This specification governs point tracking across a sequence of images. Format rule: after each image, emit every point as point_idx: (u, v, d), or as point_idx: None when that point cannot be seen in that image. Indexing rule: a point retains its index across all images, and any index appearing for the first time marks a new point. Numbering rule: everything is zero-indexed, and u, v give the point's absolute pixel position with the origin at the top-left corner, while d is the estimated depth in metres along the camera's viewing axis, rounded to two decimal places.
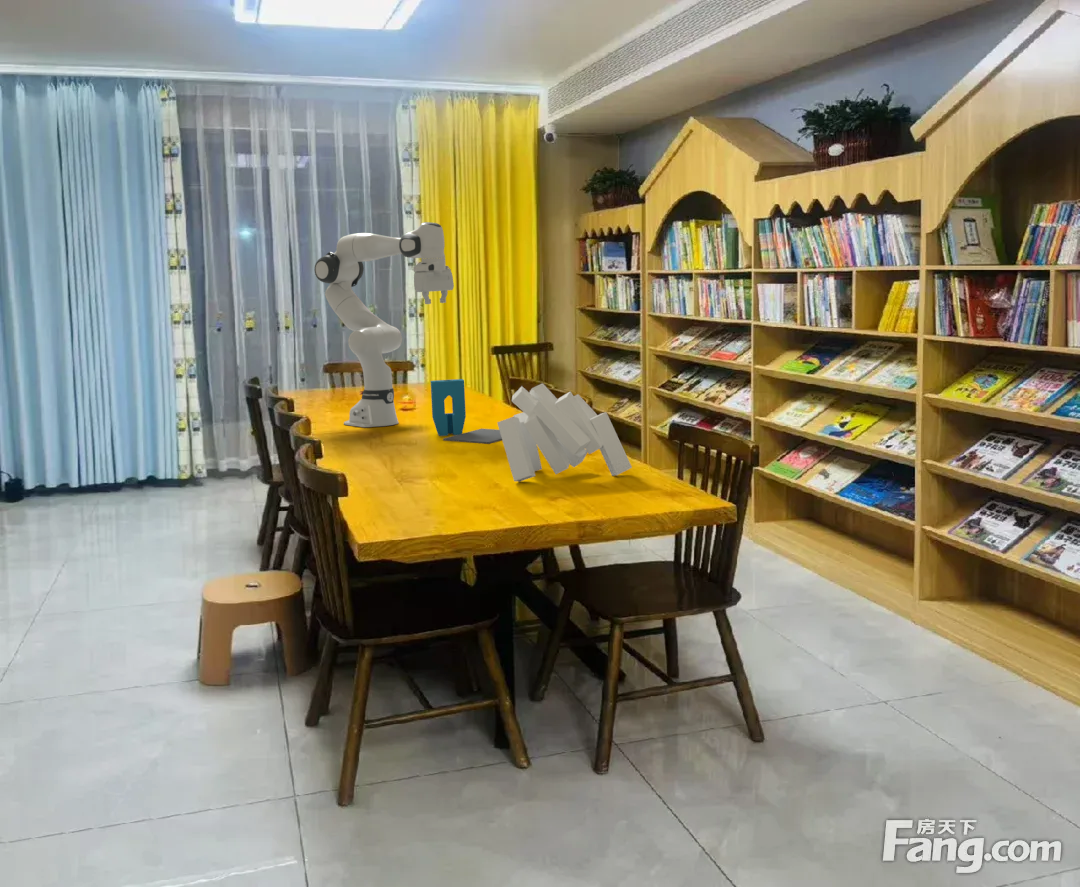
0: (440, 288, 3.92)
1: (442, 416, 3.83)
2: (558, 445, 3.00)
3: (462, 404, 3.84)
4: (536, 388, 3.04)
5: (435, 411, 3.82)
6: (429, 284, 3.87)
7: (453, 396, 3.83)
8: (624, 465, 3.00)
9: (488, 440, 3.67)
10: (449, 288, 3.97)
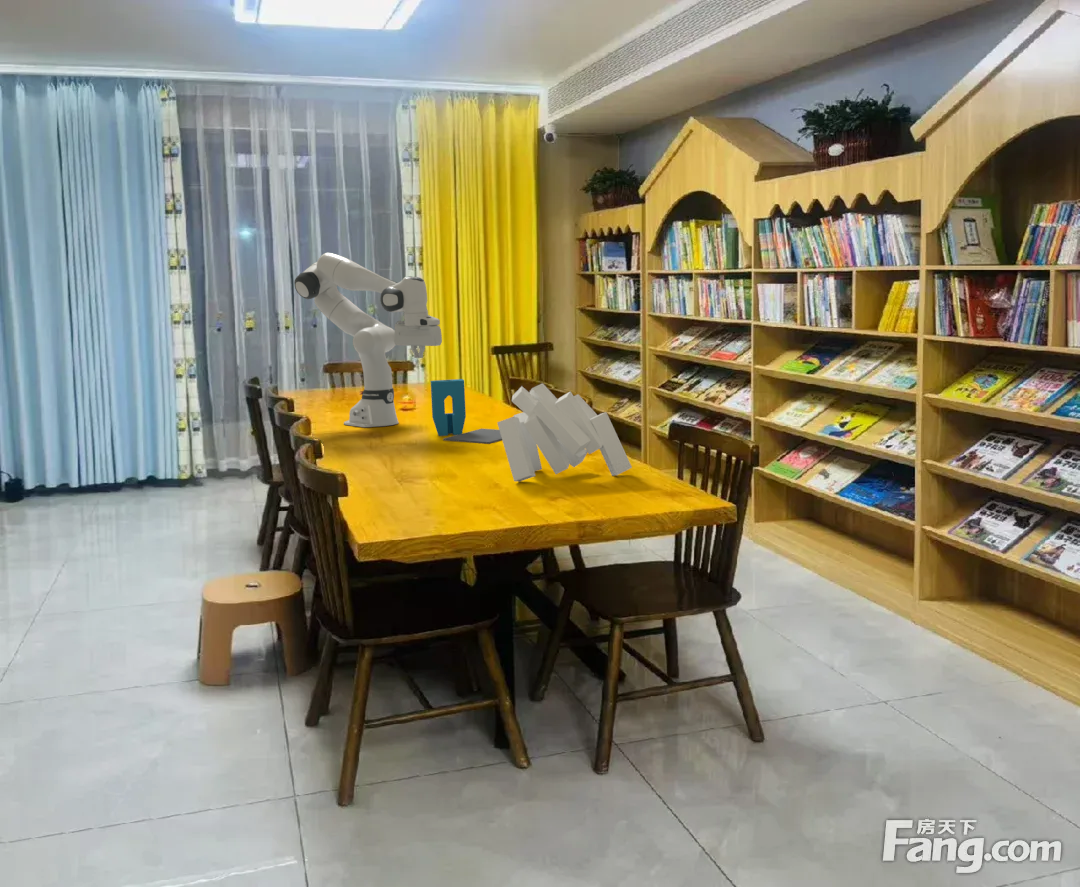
0: None
1: (442, 416, 3.83)
2: (558, 445, 3.00)
3: (462, 404, 3.84)
4: (536, 388, 3.05)
5: (435, 411, 3.82)
6: None
7: (453, 396, 3.83)
8: (624, 465, 3.00)
9: (488, 440, 3.67)
10: None
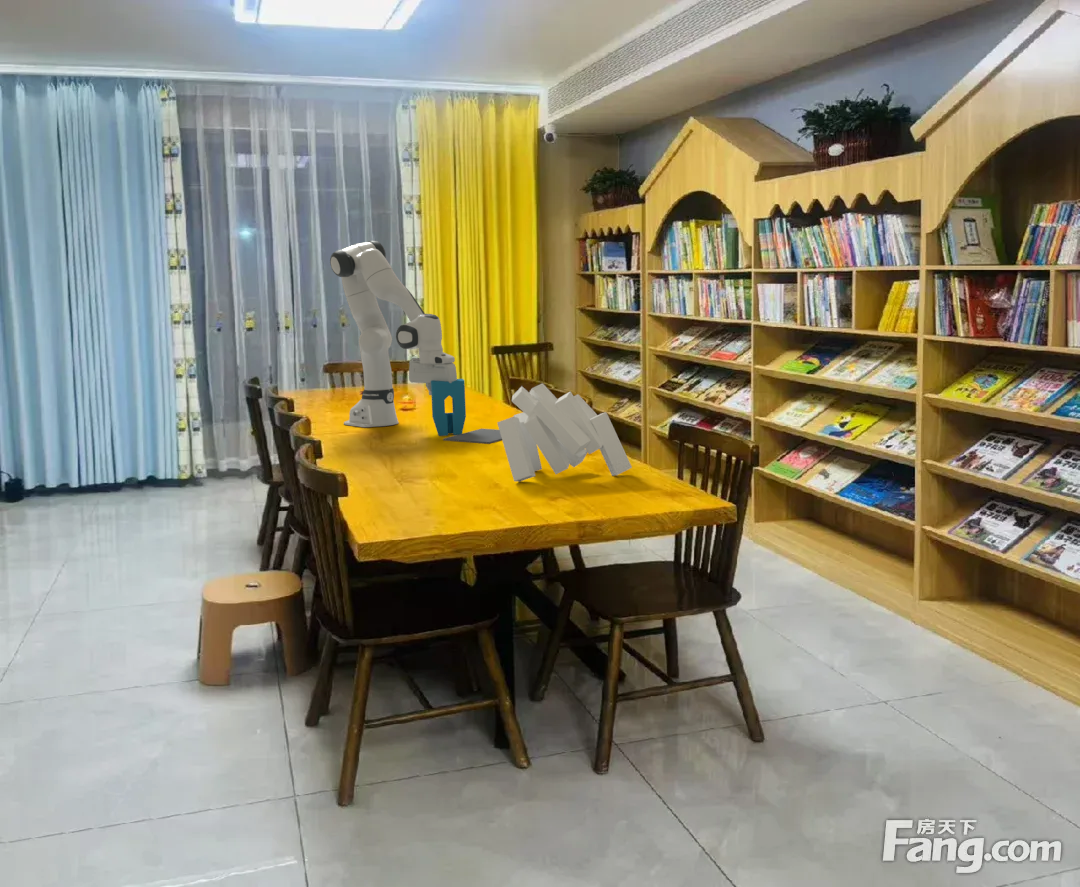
0: None
1: (443, 416, 3.83)
2: (558, 445, 3.00)
3: (462, 404, 3.83)
4: (536, 388, 3.04)
5: (435, 411, 3.82)
6: None
7: (453, 396, 3.82)
8: (624, 465, 3.00)
9: (488, 440, 3.67)
10: None
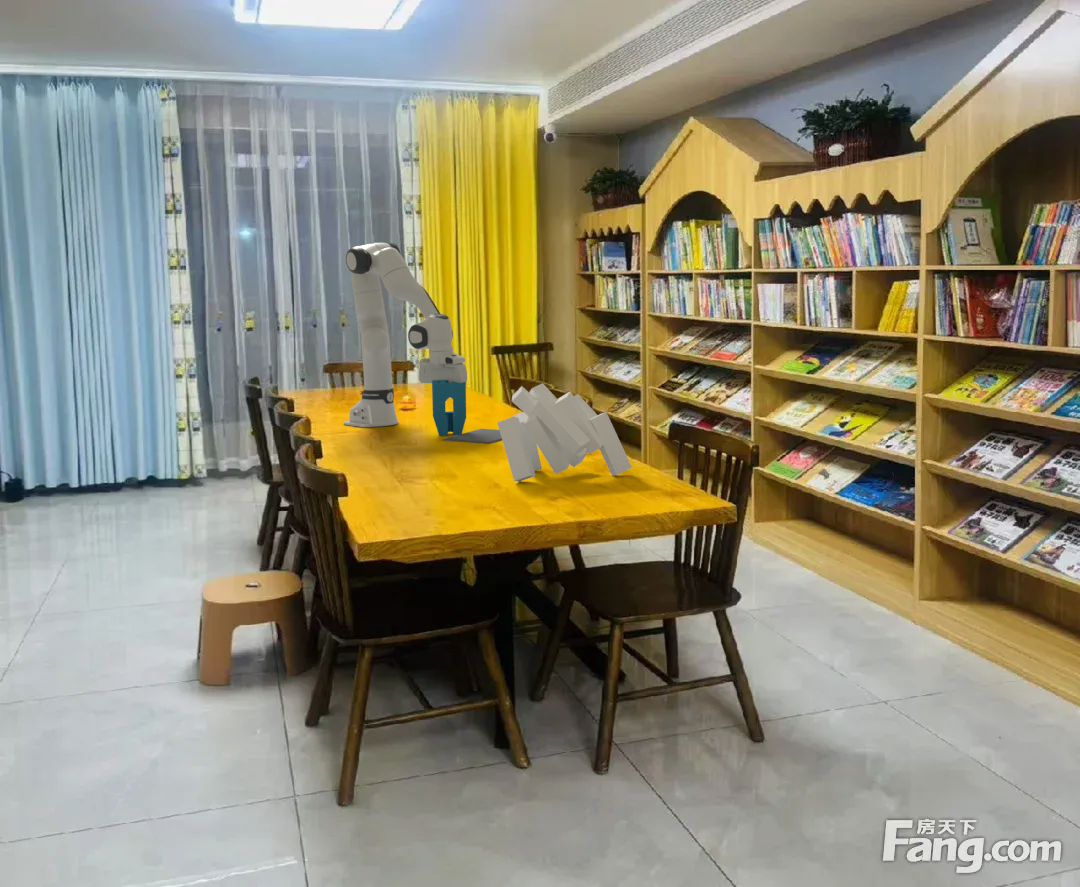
0: None
1: (443, 417, 3.82)
2: (558, 445, 3.00)
3: (463, 405, 3.82)
4: (536, 388, 3.04)
5: (436, 412, 3.80)
6: None
7: (454, 398, 3.80)
8: (624, 465, 3.00)
9: (488, 440, 3.67)
10: None
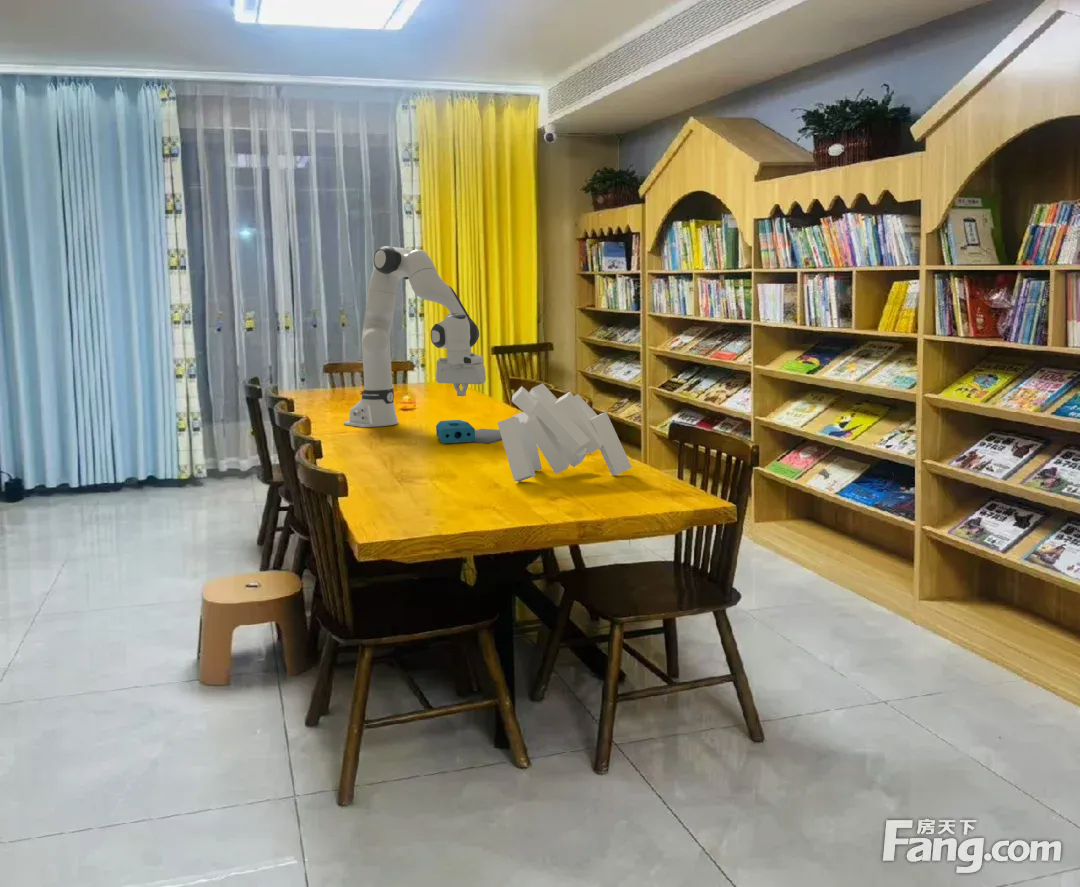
0: None
1: None
2: (558, 445, 3.00)
3: None
4: (536, 388, 3.05)
5: None
6: None
7: None
8: (624, 465, 3.00)
9: (488, 440, 3.67)
10: None
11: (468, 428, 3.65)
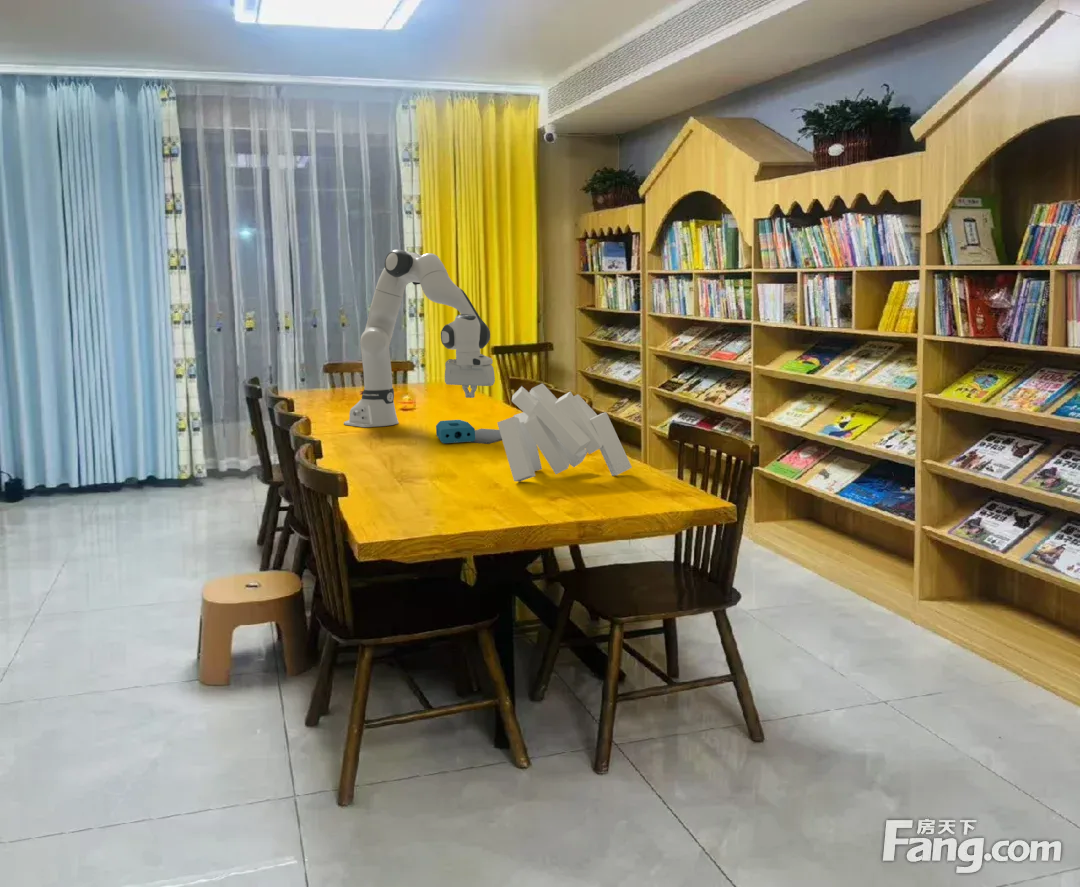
0: None
1: None
2: (558, 445, 3.00)
3: None
4: (536, 388, 3.04)
5: None
6: None
7: None
8: (624, 465, 3.00)
9: (488, 440, 3.67)
10: None
11: (468, 428, 3.65)
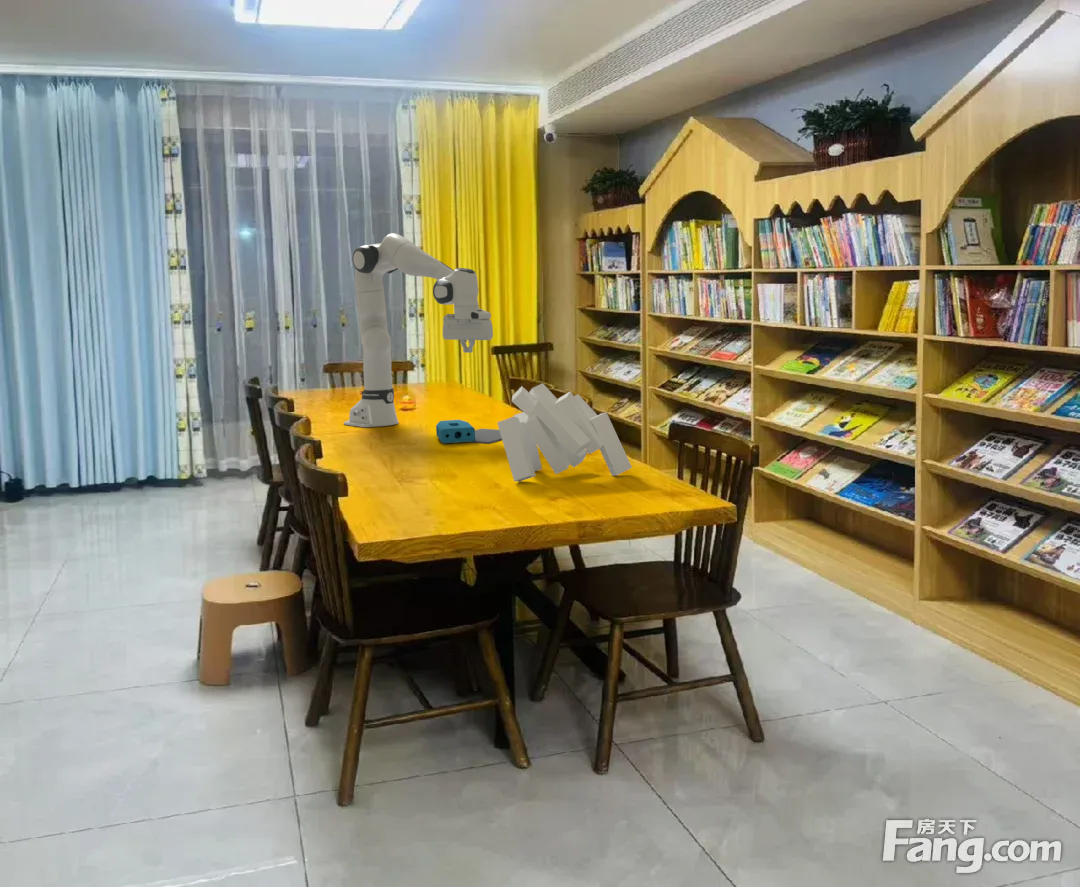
0: None
1: None
2: (558, 445, 3.00)
3: None
4: (536, 388, 3.05)
5: None
6: None
7: None
8: (624, 465, 3.00)
9: (488, 440, 3.67)
10: None
11: (468, 428, 3.65)
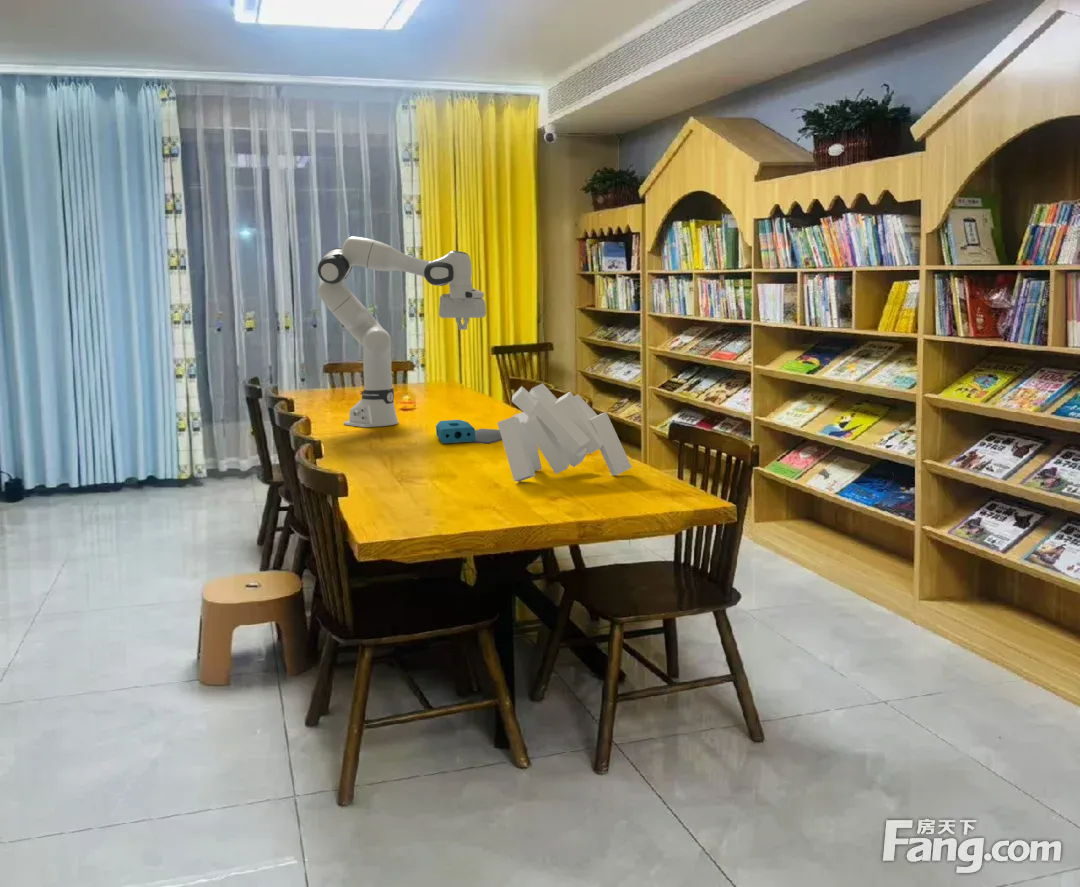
0: None
1: None
2: (558, 445, 3.00)
3: None
4: (536, 388, 3.05)
5: None
6: None
7: None
8: (624, 465, 3.00)
9: (488, 440, 3.67)
10: None
11: (468, 428, 3.65)
